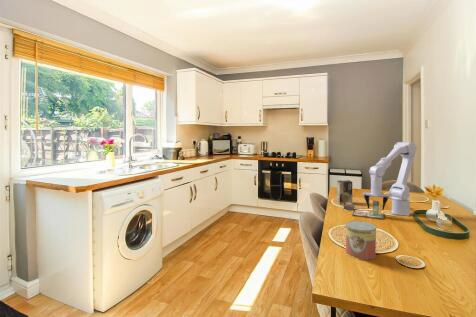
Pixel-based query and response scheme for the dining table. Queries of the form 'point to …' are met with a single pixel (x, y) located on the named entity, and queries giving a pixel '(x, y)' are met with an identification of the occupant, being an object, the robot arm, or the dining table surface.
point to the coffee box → (344, 191)
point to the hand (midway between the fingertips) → (375, 208)
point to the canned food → (361, 239)
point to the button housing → (349, 207)
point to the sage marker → (376, 208)
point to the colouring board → (367, 214)
